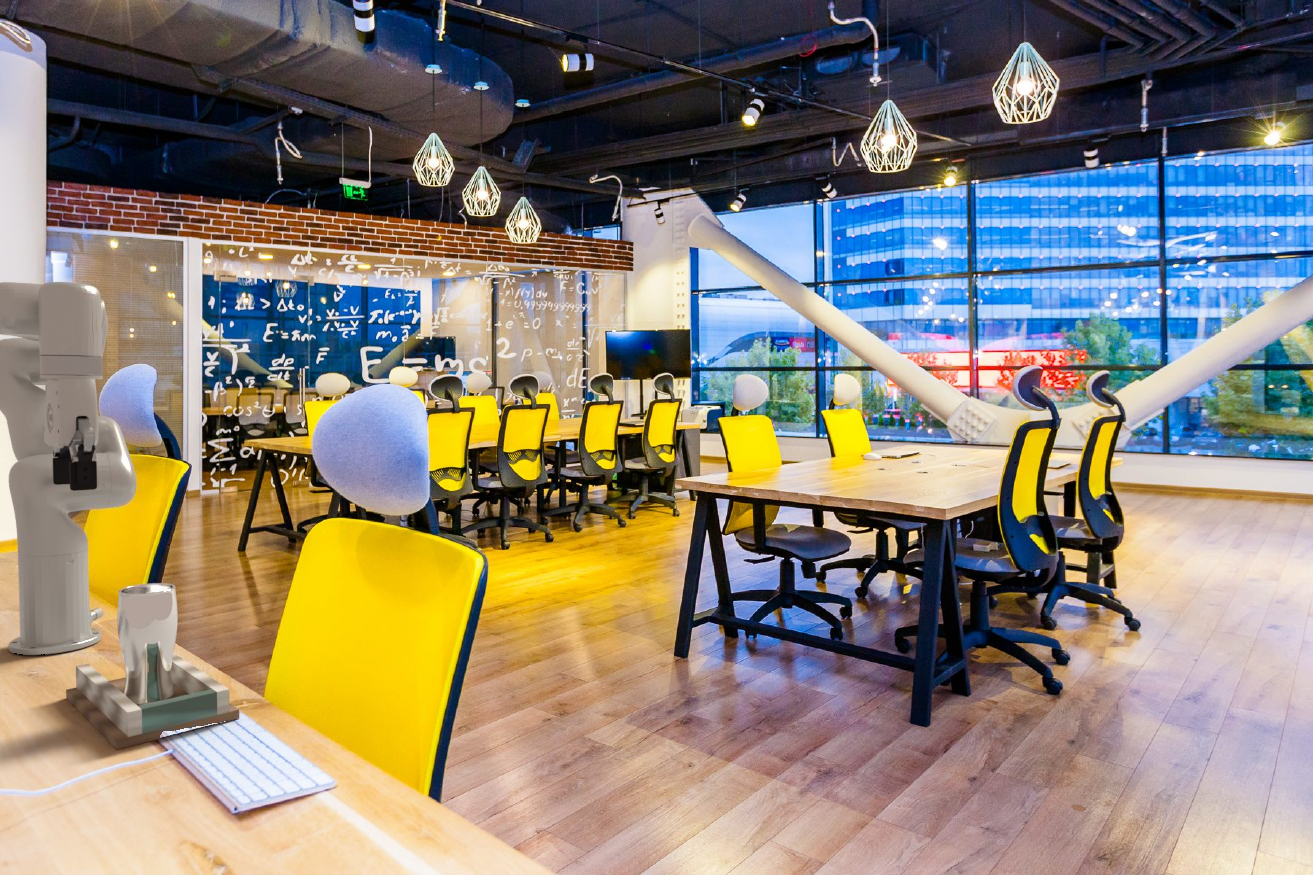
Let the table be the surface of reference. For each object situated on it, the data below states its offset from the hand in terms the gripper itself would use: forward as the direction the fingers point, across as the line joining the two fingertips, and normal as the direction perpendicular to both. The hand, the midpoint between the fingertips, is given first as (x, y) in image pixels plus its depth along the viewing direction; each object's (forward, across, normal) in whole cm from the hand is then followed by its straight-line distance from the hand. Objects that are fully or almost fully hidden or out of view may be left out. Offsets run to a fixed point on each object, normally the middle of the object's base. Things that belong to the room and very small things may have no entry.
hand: (74, 486), depth 126 cm
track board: (+28, +20, +4) cm, 35 cm away
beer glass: (+27, +20, +4) cm, 34 cm away
